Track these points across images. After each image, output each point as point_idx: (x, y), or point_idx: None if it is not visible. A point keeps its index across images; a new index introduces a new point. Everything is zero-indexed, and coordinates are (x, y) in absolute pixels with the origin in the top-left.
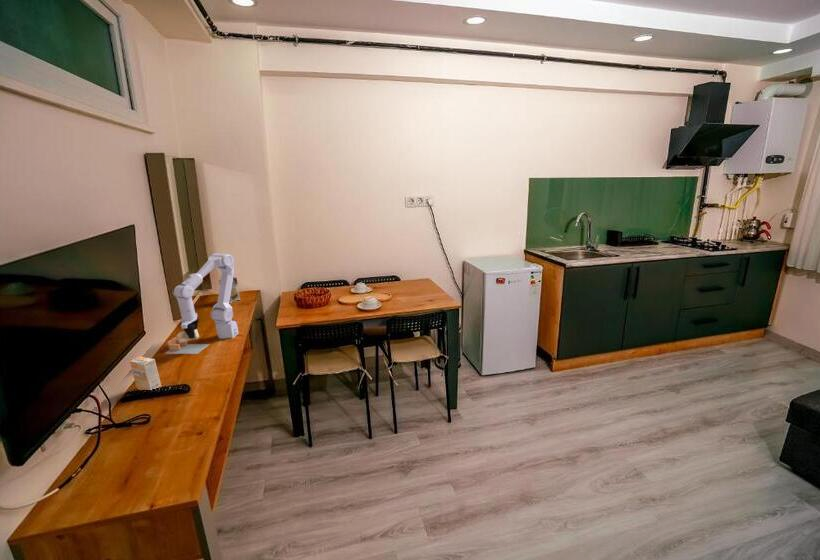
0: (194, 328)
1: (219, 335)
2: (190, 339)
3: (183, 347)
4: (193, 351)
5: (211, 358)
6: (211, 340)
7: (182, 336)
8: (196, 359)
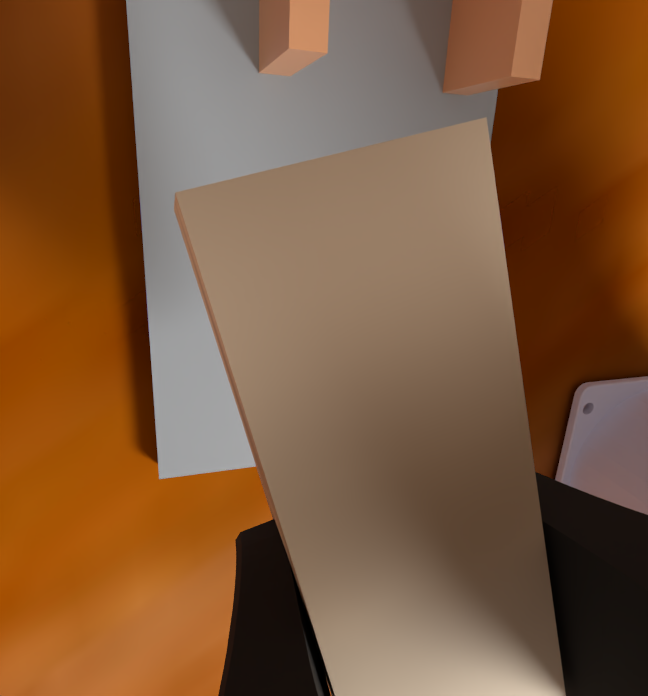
0: (594, 685)
1: (617, 471)
2: (266, 495)
3: (376, 78)
4: None
5: (86, 683)
6: (574, 346)
7: (234, 384)
8: (24, 532)
